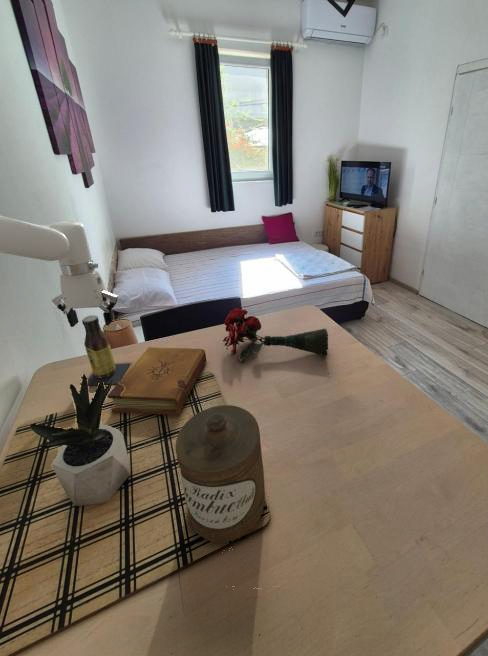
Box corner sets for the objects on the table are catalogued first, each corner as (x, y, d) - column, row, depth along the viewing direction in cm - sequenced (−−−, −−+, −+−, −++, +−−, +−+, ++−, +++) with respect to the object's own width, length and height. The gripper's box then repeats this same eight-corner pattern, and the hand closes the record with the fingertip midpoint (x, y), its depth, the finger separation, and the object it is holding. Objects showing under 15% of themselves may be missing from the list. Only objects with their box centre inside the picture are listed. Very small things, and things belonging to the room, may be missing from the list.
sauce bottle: (95, 370, 103) (78, 315, 95) (116, 365, 105) (102, 310, 98) (93, 382, 98) (75, 324, 90) (116, 376, 100) (101, 320, 92)
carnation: (323, 369, 115) (223, 366, 114) (321, 320, 123) (228, 317, 122) (330, 358, 101) (217, 355, 100) (328, 303, 109) (223, 300, 108)
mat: (83, 386, 97) (83, 385, 96) (98, 365, 106) (98, 365, 106) (118, 384, 97) (117, 383, 97) (130, 364, 106) (130, 363, 106)
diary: (180, 415, 85) (176, 398, 83) (112, 412, 87) (107, 395, 84) (206, 363, 106) (204, 348, 104) (151, 361, 108) (148, 346, 105)
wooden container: (177, 541, 58) (156, 452, 49) (202, 466, 71) (189, 386, 63) (259, 546, 57) (253, 456, 48) (269, 469, 70) (265, 389, 62)
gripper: (116, 262, 92) (127, 316, 98) (52, 264, 90) (68, 319, 97) (104, 271, 85) (117, 329, 91) (35, 273, 84) (53, 331, 90)
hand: (92, 324), depth 94 cm, fingers open, 9 cm apart
